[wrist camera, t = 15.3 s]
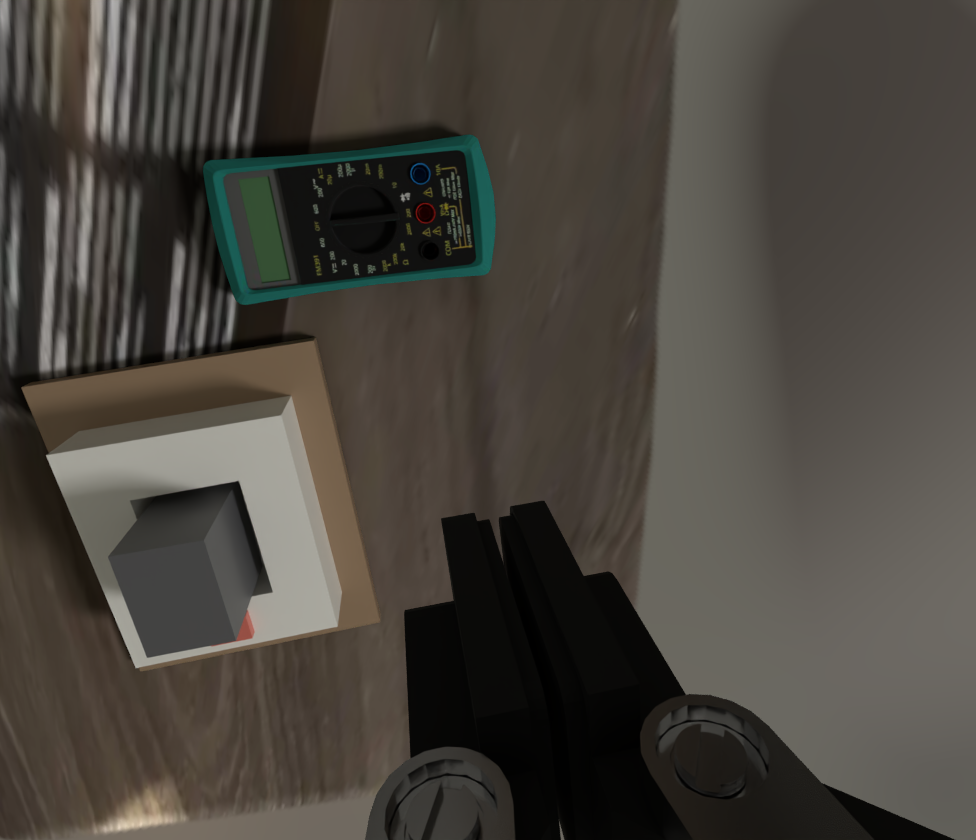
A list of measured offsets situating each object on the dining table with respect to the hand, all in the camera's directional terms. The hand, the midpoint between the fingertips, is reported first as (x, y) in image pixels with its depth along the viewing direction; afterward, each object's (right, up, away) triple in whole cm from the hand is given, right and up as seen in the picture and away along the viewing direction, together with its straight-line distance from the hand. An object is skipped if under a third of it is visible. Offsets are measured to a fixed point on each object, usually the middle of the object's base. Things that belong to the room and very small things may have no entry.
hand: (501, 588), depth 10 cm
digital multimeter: (-8, +14, +25) cm, 30 cm away
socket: (-17, -3, +29) cm, 34 cm away
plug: (-17, -3, +28) cm, 33 cm away
